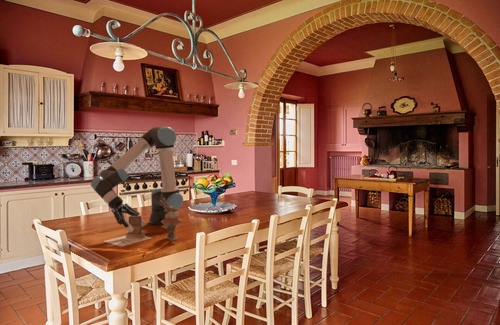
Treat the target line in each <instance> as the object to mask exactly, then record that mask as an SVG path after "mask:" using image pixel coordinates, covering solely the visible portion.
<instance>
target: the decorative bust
mask: <svg viewBox="0 0 500 325" xmlns="http://www.w3.org/2000/svg"><path fill="white" fill-rule="evenodd" d="M163 200H164V202H165V203H163V202H162V201H161V200H160V202H161V203H162V204H163V205H165V206H166V207H163V208H165V210H164V211H165V212H167V214H166V215H165V220H162V221H161V223H163V224H162V225H163V226H165V227H166V229H167V230H166V231H167V236H165V239H167V242H174V241H175V242H177V241H178V236H177V235H175V232H176V227H177V225H179V224H181V223H182V222H183V220H182V219H180V218H179V214H178V213H177V212H178V211H179V209H175V208H174V207H173V206H170V207H169V206H168V204H167V202H166V200H165V198H163Z"/></svg>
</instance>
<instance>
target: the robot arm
mask: <svg viewBox="0 0 500 325" xmlns="http://www.w3.org/2000/svg"><path fill="white" fill-rule="evenodd" d="M176 141H177V134H176V131H175V130H174V129H173V128H172V127H169V126H159V127H158V126H156V127H155V126H154V127H152V128H150V129H148V130H147V131H146V132H145V133H144V134H143V135H142V136H140V137H139V139H138V141H137V142H136V143H135V144H134V145H132V146H131V147H130V148H129V149H128V150H127V151H126V152H124V153H123V154H122V155H121V156H120V157H119V158H118V159H117V160H115V162H113V163H112V164H111V165H110V166H108V167H107V168H106V169H103V170H100V171H99V174H98V176H97V177H95V178H94V179H93V180H92V181H91V182H90V187H91V188H92V189H93V190H94V192H95V193H96V194H97V195H98V196H99V197H100V199H102V200H103V202H104V203H105V204H107V205H108V207H109V208H110V210H111V212H112V214H113V215H114V216H113V217H114V218H115V220H116V222H117V224H118V225H121V226H122V225H123V226H124V227H125V229H127V230H126V231H128V233H129V232H130V233H131V232H132V231H133V230H134V228H133V227H132V226H131V225H130V224H129V221H128V220H127V219H126V220H125V215H124V214H126V215H129V216H140V212H139V211H138V210H136V209H134V208H133V206H132V207H131V206H130V205H129V204H128V203H127V202H126V203H125V204H124V200H123V199H122V198H121V196H120V195H119V194H118V193H117V192H116V190H114V188H115V187H117V186H119V185H120V184H121V183H124V182H125V181H126V180H127V179H128V178H129V175H128V172H127V171H126V169H127V168H129V167H130V166H131V165H132V164H133V163H134V162H135V161H136V160H137V159H139V158H140V157H141V156H142V155H143V154H144V153H146V152H147V151H148V150H151V149H152V148H154V147H155V150H156V151H157V152H158V157H159V158H158V159H159V168H160V175H161V176H160V177H161V185H162V188H157V189H156V188H155V189H152V190H151V193H150V198H151V212H150V216H149V219H148V224H150V225H156V226H157V225H159V226H160V225H164V224H163V223H161V221H162V220H165V215H166V214H167V212H165V211H164V210H165V208H163V207H166V206H165V205H163V204H162V203H161V202H160V200H161V201H162V202H163V203H165V202H164V200H163V198H165V200H166V202H167V204H168V206H169V207H170V206H173V207H174V208H175V209H178V210H179V209H181V207H182V205H183V203H184V198H183V197H184V196H183V195H182V194H181V193H180V189H179V187H178V186H177V183H176V174H175V173H176V172H175V164H174V155H173V149H175V143H176ZM145 225H146V222H145V220H144V219H142V227H144V226H145Z"/></svg>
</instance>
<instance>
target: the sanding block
mask: <svg viewBox="0 0 500 325" xmlns="http://www.w3.org/2000/svg"><path fill="white" fill-rule="evenodd" d="M142 220H143V219H142V215H139V216H131V215H129V216H128V223H129V224H130V225H131V226H132V227H133V228H134V230H133V231H132V232H131V233H130V232H129V231H128V232H127V233H125V236H126V238H130V239H142V238H144V237H145V236H146V235H145V232H142Z"/></svg>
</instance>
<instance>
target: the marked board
mask: <svg viewBox="0 0 500 325" xmlns="http://www.w3.org/2000/svg"><path fill="white" fill-rule="evenodd" d="M149 239H150V240H151V239H152V236H151V237H150V236H147V235H145V237H144V238H142V239H130V238H126V235H123V236H120V237H119V236H118V237H115V238H111V239H107V240H103V242H104V243H108V244H112V245H115V246H118V247H125V246H128V245H129V246H130V245H131V244H136V243H139V242H144V241H146V240H149Z"/></svg>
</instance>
